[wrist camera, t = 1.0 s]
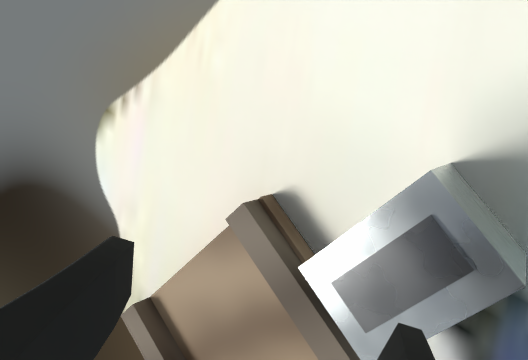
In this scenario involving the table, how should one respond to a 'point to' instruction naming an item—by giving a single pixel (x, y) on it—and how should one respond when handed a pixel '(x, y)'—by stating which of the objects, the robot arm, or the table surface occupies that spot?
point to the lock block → (417, 264)
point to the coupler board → (241, 299)
